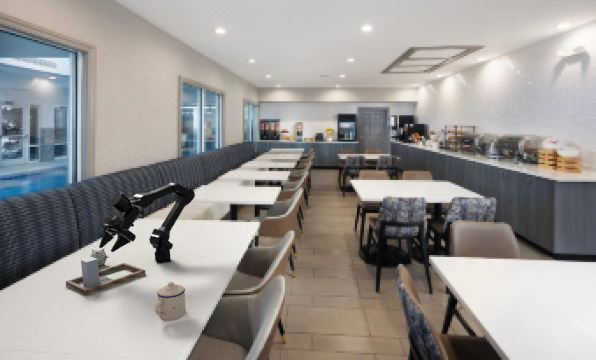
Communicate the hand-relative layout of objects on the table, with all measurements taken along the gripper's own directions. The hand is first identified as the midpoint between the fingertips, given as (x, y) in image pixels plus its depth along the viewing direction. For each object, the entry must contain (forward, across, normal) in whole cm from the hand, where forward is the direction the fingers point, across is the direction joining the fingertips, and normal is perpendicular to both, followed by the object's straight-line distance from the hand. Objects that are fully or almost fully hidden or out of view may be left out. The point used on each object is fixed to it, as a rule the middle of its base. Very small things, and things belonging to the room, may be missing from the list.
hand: (105, 249), depth 165 cm
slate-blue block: (+14, 0, +4) cm, 15 cm away
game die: (+5, -19, +14) cm, 24 cm away
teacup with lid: (+13, +49, +6) cm, 51 cm away
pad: (+7, 0, +12) cm, 14 cm away
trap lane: (+9, 0, +10) cm, 13 cm away
